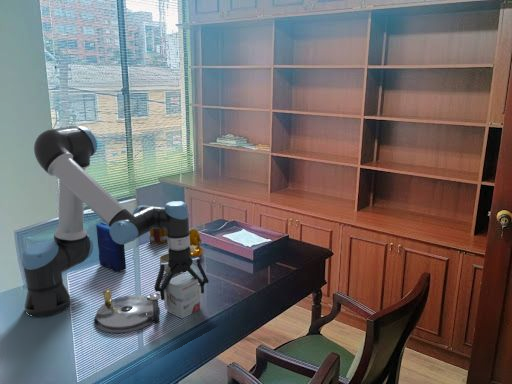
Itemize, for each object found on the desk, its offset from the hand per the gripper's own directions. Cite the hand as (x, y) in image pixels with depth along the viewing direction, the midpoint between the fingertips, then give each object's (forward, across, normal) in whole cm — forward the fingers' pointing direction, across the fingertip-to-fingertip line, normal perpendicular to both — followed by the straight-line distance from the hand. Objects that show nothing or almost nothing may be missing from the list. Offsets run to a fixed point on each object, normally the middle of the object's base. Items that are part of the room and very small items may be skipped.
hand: (183, 304), depth 156 cm
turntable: (+2, -19, +3) cm, 19 cm away
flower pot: (+2, +1, +33) cm, 33 cm away
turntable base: (+2, -19, +3) cm, 19 cm away
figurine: (+2, +14, +51) cm, 53 cm away
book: (+2, -23, +47) cm, 52 cm away
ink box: (+2, 0, 0) cm, 2 cm away
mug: (+2, 0, +73) cm, 73 cm away
